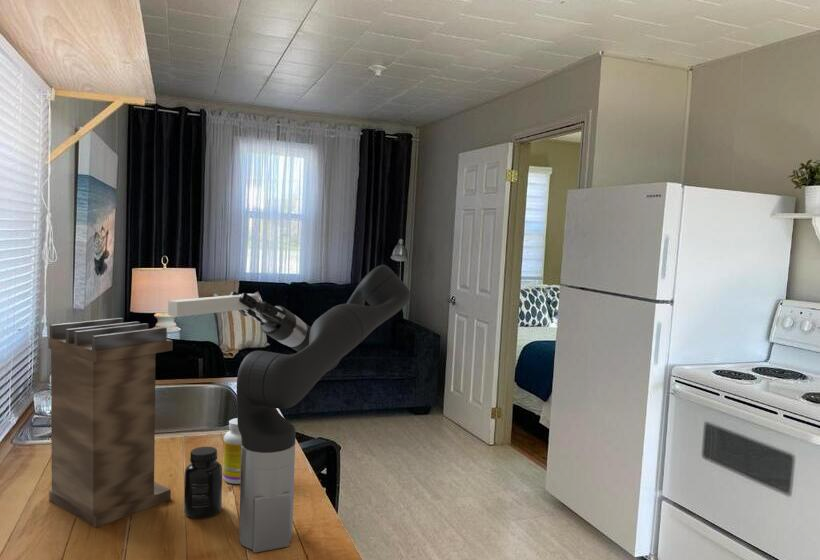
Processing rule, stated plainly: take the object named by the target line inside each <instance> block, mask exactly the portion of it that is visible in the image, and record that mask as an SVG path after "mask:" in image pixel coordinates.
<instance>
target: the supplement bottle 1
mask: <svg viewBox="0 0 820 560" xmlns="http://www.w3.org/2000/svg"><path fill="white" fill-rule="evenodd" d="M189 462H190V463H189V464H188V465H187V466H186V468H185V469H184V494H183V495H184V499H183V501H184V506H183V510H184V514H185V515H186V516H187V517H188V518H191V519H197V520H199V519H201V520H202V519H208V518H212V517H214V516H216V515H218V514H219V513H220V512H221V510H222V505H223V504H222V503H223V502H222V501H223V497H222V496H223V465H222V464H221V463H220V462H219V461H218V450H217V448H216V447H213V446H199V447H195V448H193V449H191V450H190V458H189Z"/></svg>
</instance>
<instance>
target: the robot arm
mask: <svg viewBox="0 0 820 560" xmlns="http://www.w3.org/2000/svg"><path fill="white" fill-rule="evenodd" d="M239 294H240V293H238V292H236V291H231V292H230V294H229V295H239ZM241 294H242V295H241V297H240V299H239V301H240V302H241V303H242V304H244V305H246V306H247V307H249V308H252V309H245V310H237V311H238V312H239V313H240V315H241V314H242V316H244V317H248V316H249V317H250V318H253V320H254V321H255V322H257V323H260V328H261V330H262V332H263V333H264V334H266V335H267V336H269V337H270V338H272V339H274V340H276V341H277V342H279V343H280V344H282V345H284V346H287V347H289V348H290V349H292V350H294V351H296V353H290V354H286V353H279V352H278V353H277V352H272V351H268V350H267V351H266V350H254V351H251V352H249V353H248V354H247V355H245V357H244V358H243V360H242V361H241V362H240V365H239V368H238V371H237V378H236V413H237V417H236V418H237V422H238V429H239V432H240V434H241V480H240V484H239V485H240V488H239V489H240V491H239V528H238V530H239V534H238V535H239V537H238V538H239V539H238V540H239V542H240V545H241V546H242V547H245V548H248V549H249V550H252V551H253V553H259V552H260V553H261V552H266V551H271V550H277V549H281V548H286V547H290V543H291V540H292V539H293V531H294V530H293V529H294V526H293V525H294V498H295V497H294V496H295V495H294V494H295V492H294V491H295V490H294V489H295V464H296V463H295V460H296V436H297V435H296V428H295V426H294V425H293V424H292V423H291V422H290V421H289V420H288V419H287V418H285V417H284V416H282V415H281V413H280V412H279V411H278V410H286V409H290V408H292V407H295V406H296V405H297V404H298V403H299V402H301V401H302V400H303V399H304V398H305V397H306V395H308V393H309V392H310V391H312V389H313V388H314V387H315V385H316V384H317V383H318V382H319V381H320V380H321V378H322V377H324V375H326V374H327V373H328V372H330V371H332V370H334V369H335V368H336V367H337V366H338V364H339V363H340V362H341V360H342V358H344V357H345V356H346V355H348V354H349V353H350V352H351V351H352V350H354V349H355V348H356V347H357V346H359V344H360V343H362V342H363V340H365V339H366V338H367V337H368V336H369V335H370V334H371V333H372V332H373V331H374V330H375V329H377V328H378V327H379V326H381V325H382V324H384V323H385V322H386V321H387V320H389V319H390V318H392V317H393V316H395V315H397V314H398V312H400V311H401V310H402V309H404V307H406V305H407V304H408V303H409V301H410V299H411V291H410V289H409V287H408V286H407V285H406V284H405V282H404V281H403V280H402V279H401V278H400V277H399V276H398V275H397V274H396V273H395V272H394V270H392V269H391V268H390V267H389V266H388V265H386V264H381V265H378V266H377V267H374V268H373V269H371V270H370V271H369V272H368V273H367V274H366V275H365V276H364V277H363V278H362V280H361V281H360V282H359V283H358V285H357V286H356V288H355V290H354V291H353V292H352V294H351V296H350V297H349V299H348V300H347V302H346V303H340V304H338V305H334V306H333V307H331V308H330V309H328V310H327V311H325V312H324V313H323V314H321V315H320V316H319V317H318V318H317V319H315V321H313V323H312V325H311V326H310V325H308V324H307V323H306V322H304V321H303V319H301V318H300V317H299V316H297V315H296V314H294V313H292V312H291V311H290V310H288V309H287V308H285V307H283V306H282V305H272V304H270V303H268V302H267V301H262V300H261V301H260V299H258V300H256V301H255V299H254V298H252V297H251V296H249V295H248V294H249V293H246V292H242V293H241ZM366 302H367V304H368V305H365V303H366Z"/></svg>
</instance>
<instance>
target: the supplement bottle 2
mask: <svg viewBox="0 0 820 560" xmlns="http://www.w3.org/2000/svg"><path fill="white" fill-rule="evenodd" d="M228 429H229V430H228V431H227V432H225V434H224V435H223V436H224V437H223V455H222V456H223V460H222V462H223V463H222V480H223V481H225V482H226V483H228V484H232V485H233V484H235V485H236V484H237V485H240V480H241V434H240V432H239V429H238V422H237V417H235V418H232V419H230V420H228Z"/></svg>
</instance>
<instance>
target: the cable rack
mask: <svg viewBox="0 0 820 560" xmlns="http://www.w3.org/2000/svg"><path fill="white" fill-rule="evenodd" d="M149 325H150V324H149V323H141V322H140V321H130V322H129V321H128V322H124V318H123V317H117V318H106V319H105V318H104V319H97V320H95V319H94V320H86V321H85V320H84V321H75V322H67V323H66V322H65V323H55V324H50V325H49V337H48V340H47V341H48V349H50V369H51V370H50V372H51V373H50V374H51V375H50V376H51V378H50V381H51V382H50V383H51V384H50V390H51V391H50V397H51V399H50V401H51V402H50V403H51V404H50V407H51V410H50V411H51V415H50V416H51V417H50V418H51V423H50V424H51V426H50V427H51V431H50V432H51V433H50V434H51V435H50V436H51V489H49V491H48V493H49V494H48V499H49V500H48V501H50V502H52V503H53V504H55V505H57V506H58V507H60V508H61V509H63V510H65V511H67V512H69V513H70V514H72V515H74V516H75V517H77V518H78V519H80V520H82V521H84V522H85V523H87V524H89V525H91V526H93V528H99V527H102V526H105V525H107V524H109V523H112V522H115V521H117V520H120V519H123V518H125V517H128V516H131V515H133V514H135V513H138V512H141V511H144V510H146V509H149V508H150V507H154V506H156V505H159V504H162V503H164V502H167V501H169V500H171V495H172V492H171V491H172V490H171V488H168V487H166V486H164V485H162V484H159V482H158V483H157V482H156V481H155V448H156V447H155V444H156V442H155V441H156V440H155V432H156V425H155V424H156V422H155V421H156V417H155V416H156V358H157V357H156V356H157V355H156V354H159V353H166V352H172V351H173V348H174V347H173V343H174V342H173V340H172V339H170V338H169V339H168V337H167V335H168V331H167V327H166V326H165V327H163V326H162V327H154V328H149Z"/></svg>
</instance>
